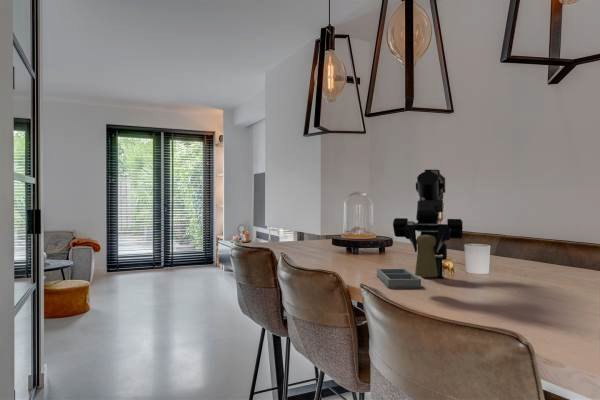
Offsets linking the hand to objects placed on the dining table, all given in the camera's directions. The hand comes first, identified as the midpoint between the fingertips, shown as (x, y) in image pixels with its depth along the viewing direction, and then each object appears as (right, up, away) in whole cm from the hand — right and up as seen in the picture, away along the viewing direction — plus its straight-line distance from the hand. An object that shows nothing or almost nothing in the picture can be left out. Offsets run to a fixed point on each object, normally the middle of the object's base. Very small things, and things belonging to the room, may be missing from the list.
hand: (425, 251), depth 114 cm
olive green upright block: (+1, -7, +1) cm, 7 cm away
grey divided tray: (-4, -12, +18) cm, 22 cm away
